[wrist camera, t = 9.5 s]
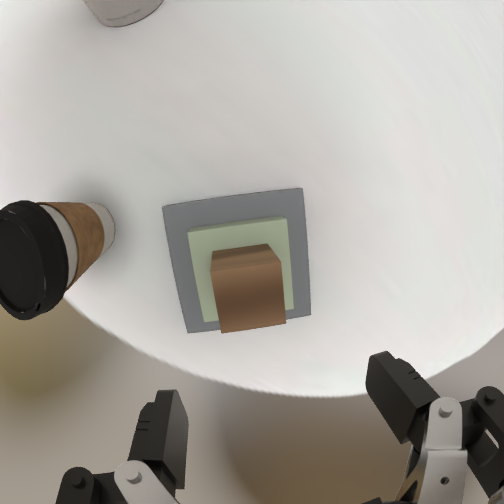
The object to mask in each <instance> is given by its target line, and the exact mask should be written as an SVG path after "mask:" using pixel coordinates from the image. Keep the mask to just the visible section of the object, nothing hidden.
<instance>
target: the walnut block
mask: <svg viewBox="0 0 504 504" xmlns="http://www.w3.org/2000/svg"><path fill="white" fill-rule="evenodd" d="M210 275H211V280H212V286H213V292H214V297H215V303H216V308H217V313H218V318H219V324H220V329H221V333H228V332H236V331H243V330H249V329H256V328H262V327H268V326H274V325H280V324H286V313H285V301H284V289H283V277H282V266H281V261H280V259H279V258H278V257H277V255H276V254H275V253H274V251H273V250H272V249H271V247H270V246H269V245H268V243H267V244H259V245H252V246H245V247H238V248H231V249H224V250H217V251H213V253H212V260H211V268H210Z"/></svg>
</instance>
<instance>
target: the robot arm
mask: <svg viewBox="0 0 504 504" xmlns="http://www.w3.org/2000/svg"><path fill="white" fill-rule="evenodd" d="M83 1H84V2H85V3H86V5H87V6H88V7H89V9H90V10H91V11H92V12H93V14H94V15H95V16H96V17H97V19H98V20H99V21H100V22H101V23H102V24H104V25H106V26H112V27H116V26H124V25H128V24H131V23H134V22H136V21H138V20H140V19H142V18H144V17H146V16H147V15H149V14H150V13H152V12H153V11H154V10H155V9H156V8H157V7H158V6H159V5H160V4H161V2H162V1H163V0H83ZM366 390H367V392H368V394H369V396H370V398H371V399H372V401H373V402H374V403H375V405H376V407H377V408H378V410H379V411H380V413H381V414H382V416H383V417H384V419H385V420H386V422H387V424H388V425H389V427H390V428H391V430H392V431H393V433H394V434H395V436H396V437H397V439H398V441H399V442H400V444H403V443H406V442H407V441H411V442H412V446H411V449H410V454H409V459H408V463H407V467H406V471H405V475H404V479H403V482H402V485H401V487H400V489H399V491H398V493H397V495H396V498H395V500H394V501H385V502H382V501H381V499H380V497H378V498H376V499H373V500H371V501H368V502H365V503H363V504H462V500H463V494H464V487H465V478H466V469H467V464H468V466H469V467H470V469H471V470H472V472H473V473H474V475H475V477H476V478H477V480H478V481H479V483H480V484H481V486H482V488H483V489H484V491H485V492H486V494H487V496H488V498H489V502H488V504H504V394H503V393H502V392H501V391H500V390H498V389H497V388H495V387H491V386H487V387H483V388H481V389H480V390H479V391H478V393H477V395H476V397H475V398H474V399H470V400H467V401H463V402H458V401H457V400H455V399H453V398H450V397H440V396H439V395H438V394H437V393H436V392H435V391H434V390H433V388H432V387H431V386H430V385H429V384H428V383H427V382H426V381H425V380H424V379H423V378H422V377H421V375H420V374H419V373H418V372H417V371H415V369H414V368H413V367H412V366H411V365H410V364H409V363H408V362H406V361H404V360H402V359H400V358H398V359H395V358H394V357H393V356H392V355H391V354H390V353H389V352H388V351H384V352H381V353H377V354H374V355H371V356H370V358H369V363H368V369H367V376H366ZM487 429H488V431H489V432H490V433H491V434H492V436H493V437H494V438H495V440H496V441H497V442H498V445H499V449H498V448H497V447H496V445H495V444H494V443H493V441H492V440H491V439H490V438H489V436H488V435H487V434H486V432H485V431H486V430H487ZM187 439H188V417H187V414H186V411H185V409H184V406H183V404H182V401H181V399H180V396H179V393H178V391H177V390H158V391H157V394H156V398H155V402H152V403H151V402H148V403H147V404H146V405H145V406H144V408H143V409H142V410H141V412H140V415H139V419H138V423H137V426H136V431H135V433H134V438H133V441H132V445H131V449H130V453H129V457H128V460H127V461H126V462H124V463H122V464H121V465H119V466H118V467H117V469H116V470H115V471H114V472H111V473H102V474H92V473H91V472H90V471H89V470H87V469H85V468H83V467H74V468H71V469H69V470H68V471H67V472H66V473H65V474H64V476H63V478H62V482H61V485H60V489H59V492H58V496H57V500H56V504H180V503H179V502H178V501H177V500H176V499H175V490H176V489H184V486H185V484H184V483H185V468H186V452H187Z"/></svg>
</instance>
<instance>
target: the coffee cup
mask: <svg viewBox="0 0 504 504" xmlns="http://www.w3.org/2000/svg"><path fill="white" fill-rule="evenodd" d="M114 235H115V226H114V221H113V218H112V216H111V214H110V213H109V211H108V210H107V209H106V208H105V207H103V206H102V205H100V204H97V203H70V202H37V203H34V202H31V201H26V200H21V201H18V202H14V203H10V204H8V205H7V206H5V207H4V208H2V209H1V210H0V304H1V305H2V307H3V308H4V309H5V310H6V311H7V312H8V313H9V314H11V315H12V316H13V317H15V318H17V319H19V320H29V319H32V318H34V317H36V316H38V315H40V314H42V313H45V312H48V311H50V310H51V309H53V308H54V307H55V306H56V305H57V304H58V303H59V301H60V300H61V299H62V298H63V295H64V293H65V291H67V290H68V289H69V288H70V287H71V286H72V285H73V284H74V283H75V282H76V281H77V279H78V278H79V277H80V276H81V275H82V274H83V273H84V272H85V271H86V270H87V269H88V268H89V267H90V266H91V265H92V264H93V263H94V262H95V261H96V260H97V259H98V258H99V257H100V256H101V255H102V254H103V253H104V252H105V251H106V250H107V249H108V248H109V247H110V246H111V244H112V242H113V239H114Z"/></svg>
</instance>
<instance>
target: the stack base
mask: <svg viewBox="0 0 504 504" xmlns="http://www.w3.org/2000/svg"><path fill="white" fill-rule="evenodd" d="M162 210H163V216H164V223H165V229H166V234H167V240H168V246H169V251H170V256H171V262H172V267H173V272H174V276H175V281H176V286H177V290H178V295H179V299H180V304H181V308H182V312H183V316H184V321H185V325H186V329H187V333H196V332H205V331H213V330H221V329H220V324H219V318H218V313H217V308H216V303H215V297H214V292H213V286H212V280H211V275H210V268H211V260H212V253H213V251H217V250H224V249H231V248H238V247H245V246H252V245H259V244H267V243H268V245H269V246H270V247H271V249H272V250H273V251H274V253H275V254H276V255H277V257H278V258H279V259H280V261H281V266H282V277H283V289H284V301H285V313H286V320H287V319H292V318H298V317H303V316H308V315H311V301H310V278H309V260H308V245H307V231H306V218H305V206H304V196H303V188H296V189H285V190H276V191H267V192H258V193H249V194H241V195H233V196H226V197H219V198H211V199H205V200H198V201H191V202H185V203H179V204H173V205H167V206H163V207H162Z"/></svg>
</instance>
